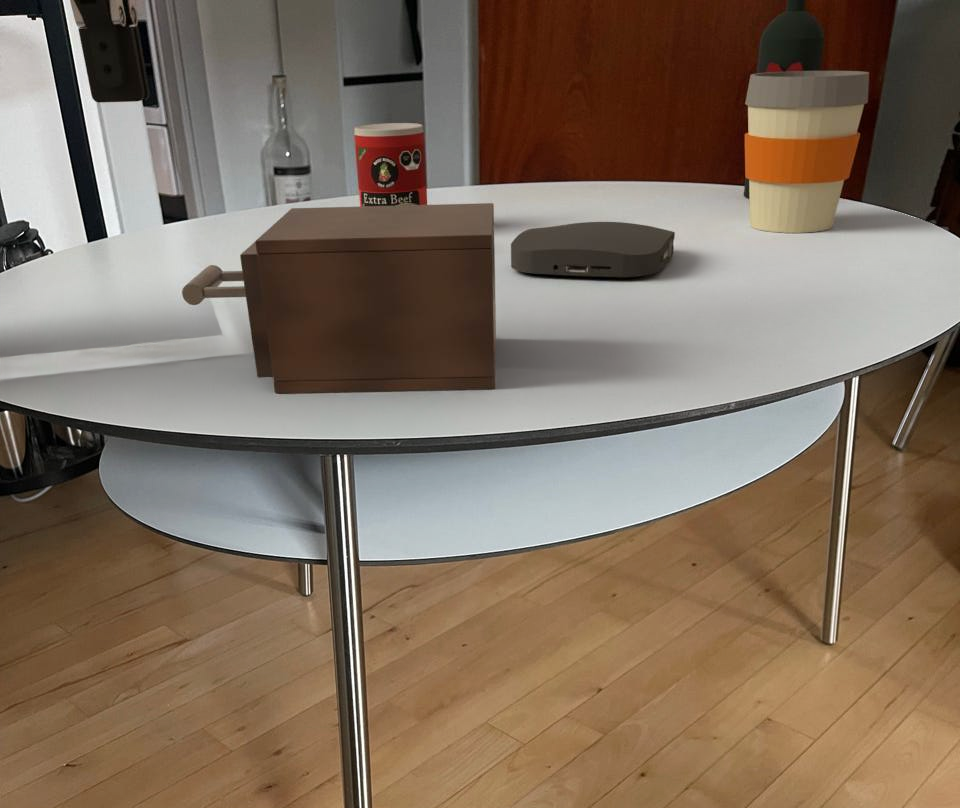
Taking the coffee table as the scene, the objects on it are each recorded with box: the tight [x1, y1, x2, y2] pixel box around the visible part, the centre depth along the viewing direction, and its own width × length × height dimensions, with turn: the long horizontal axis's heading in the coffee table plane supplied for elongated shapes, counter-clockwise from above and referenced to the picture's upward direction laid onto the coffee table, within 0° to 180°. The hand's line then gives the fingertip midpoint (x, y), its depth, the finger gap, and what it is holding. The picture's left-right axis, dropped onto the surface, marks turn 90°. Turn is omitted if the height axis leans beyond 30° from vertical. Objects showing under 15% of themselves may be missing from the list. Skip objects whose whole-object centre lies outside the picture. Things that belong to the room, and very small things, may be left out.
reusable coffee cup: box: [744, 70, 870, 234], centre depth 111 cm, size 13×13×15 cm
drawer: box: [181, 241, 273, 378], centre depth 71 cm, size 18×11×8 cm, turn 89°
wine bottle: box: [743, 0, 826, 199], centre depth 125 cm, size 8×10×30 cm
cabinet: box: [254, 202, 497, 394], centre depth 71 cm, size 15×13×10 cm
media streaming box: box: [510, 221, 676, 279], centre depth 100 cm, size 15×15×3 cm
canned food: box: [353, 122, 428, 207], centre depth 116 cm, size 8×8×11 cm
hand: (122, 100), depth 65 cm, fingers closed
